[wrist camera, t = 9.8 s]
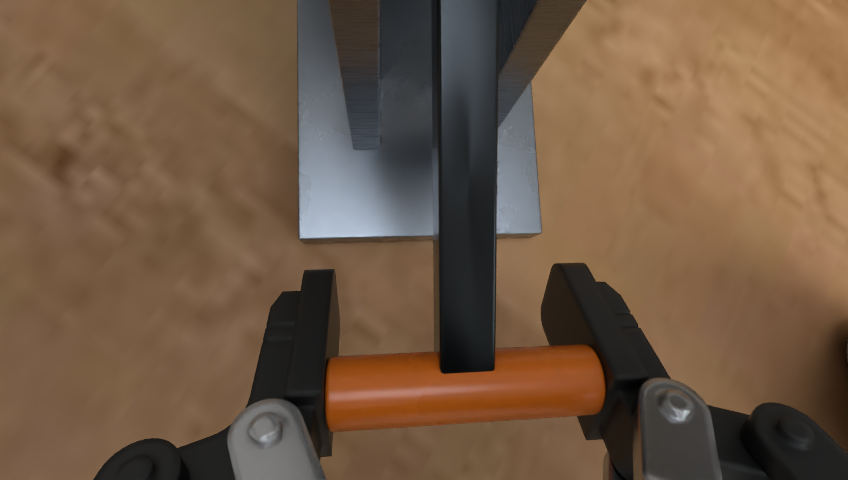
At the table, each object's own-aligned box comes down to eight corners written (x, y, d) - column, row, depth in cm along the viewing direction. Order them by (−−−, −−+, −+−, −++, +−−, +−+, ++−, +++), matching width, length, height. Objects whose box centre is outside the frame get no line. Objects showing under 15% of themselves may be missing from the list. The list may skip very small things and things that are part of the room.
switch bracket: (532, 237, 19) (847, 104, 6) (303, 243, 18) (123, 103, 5) (514, -15, 20) (741, -545, 8) (301, -21, 19) (155, -634, 7)
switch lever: (567, 384, 11) (618, 442, 9) (334, 398, 11) (323, 463, 8) (587, -182, 9) (658, -299, 7) (309, -200, 9) (285, -335, 7)
